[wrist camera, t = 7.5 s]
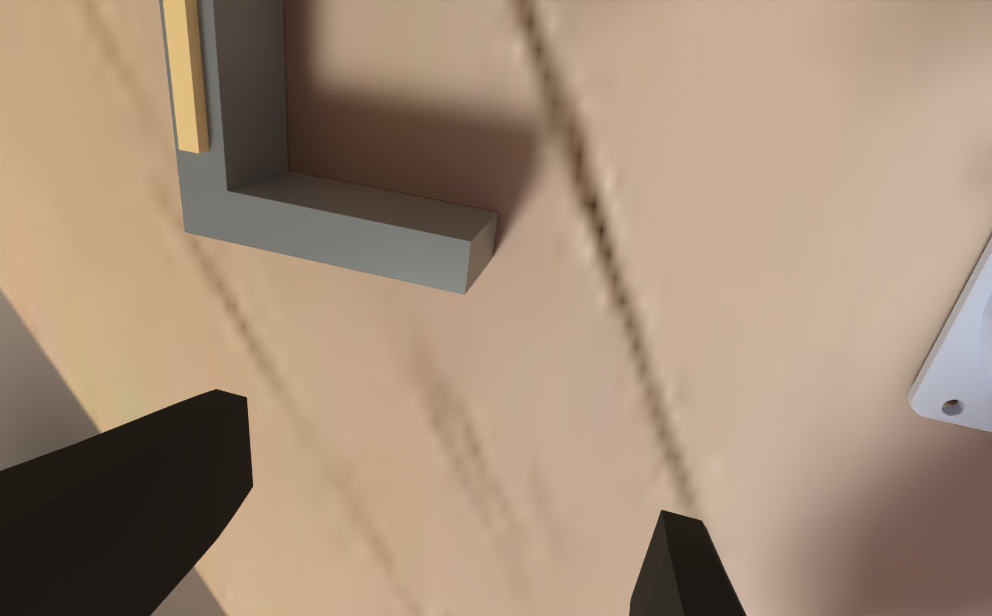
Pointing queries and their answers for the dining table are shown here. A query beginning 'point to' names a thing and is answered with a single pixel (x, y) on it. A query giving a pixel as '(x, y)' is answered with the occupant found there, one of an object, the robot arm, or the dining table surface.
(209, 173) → the socket panel
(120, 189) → the dining table surface
